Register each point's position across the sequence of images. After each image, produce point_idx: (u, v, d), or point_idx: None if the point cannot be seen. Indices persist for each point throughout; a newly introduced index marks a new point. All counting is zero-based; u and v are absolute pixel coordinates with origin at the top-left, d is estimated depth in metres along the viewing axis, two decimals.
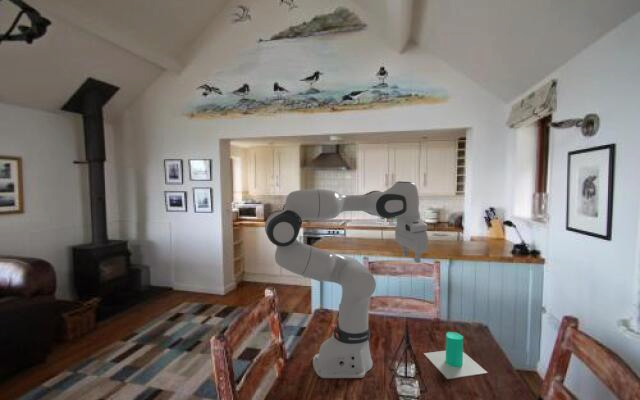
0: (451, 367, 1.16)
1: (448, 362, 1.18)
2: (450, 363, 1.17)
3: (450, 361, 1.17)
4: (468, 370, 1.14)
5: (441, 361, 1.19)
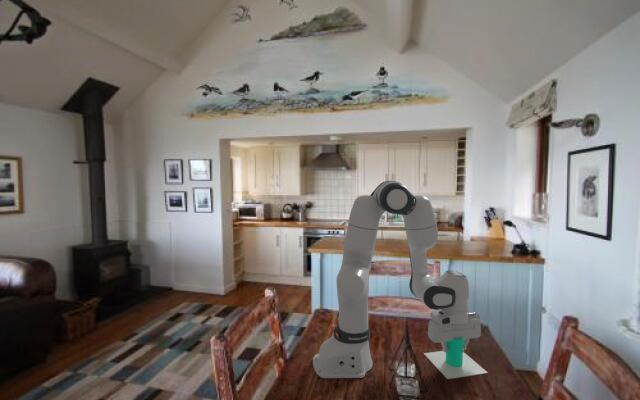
0: (451, 367, 1.16)
1: (448, 362, 1.18)
2: (450, 363, 1.17)
3: (450, 361, 1.17)
4: (468, 370, 1.14)
5: (441, 361, 1.19)
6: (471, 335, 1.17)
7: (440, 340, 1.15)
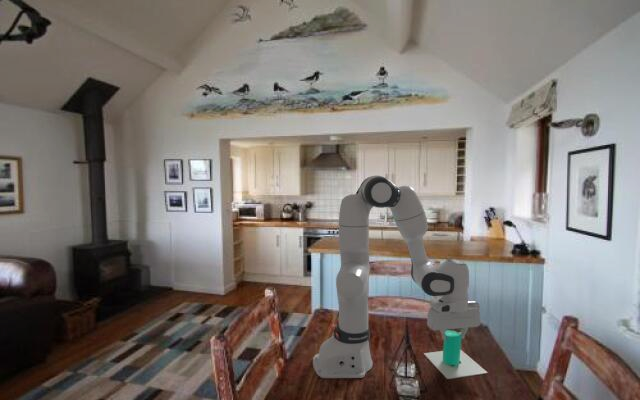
0: (451, 367, 1.16)
1: (445, 360, 1.17)
2: (447, 361, 1.17)
3: (447, 359, 1.16)
4: (468, 370, 1.14)
5: (441, 361, 1.19)
6: (470, 324, 1.17)
7: (439, 328, 1.15)
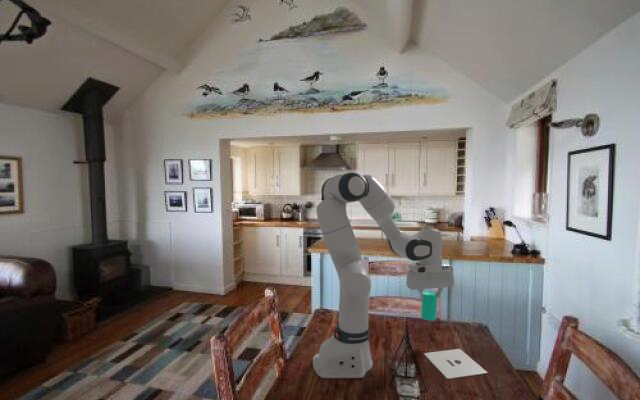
0: (451, 367, 1.16)
1: (423, 317, 1.32)
2: (425, 317, 1.31)
3: (425, 315, 1.31)
4: (468, 370, 1.14)
5: (441, 361, 1.19)
6: (445, 284, 1.32)
7: (417, 287, 1.30)
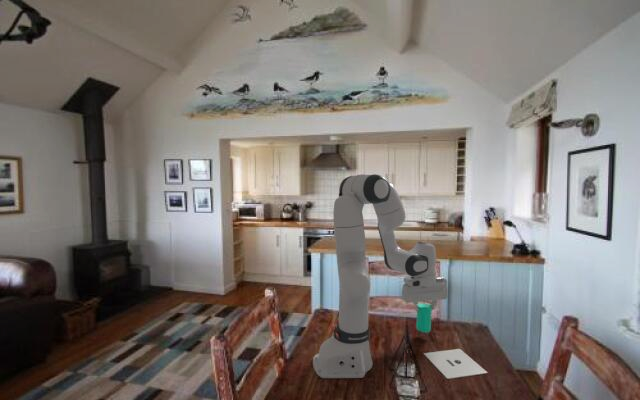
0: (451, 367, 1.16)
1: (418, 328, 1.36)
2: (420, 329, 1.36)
3: (420, 327, 1.36)
4: (468, 370, 1.14)
5: (441, 361, 1.19)
6: (439, 297, 1.36)
7: (412, 300, 1.34)
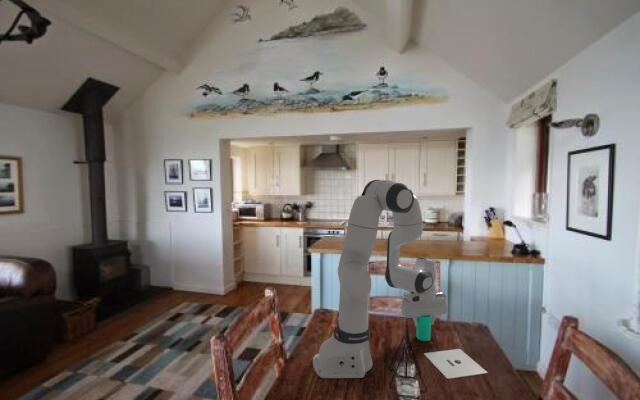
0: (451, 367, 1.16)
1: (418, 337, 1.37)
2: (420, 338, 1.36)
3: (420, 336, 1.36)
4: (468, 370, 1.14)
5: (441, 361, 1.19)
6: (438, 312, 1.37)
7: (411, 315, 1.34)
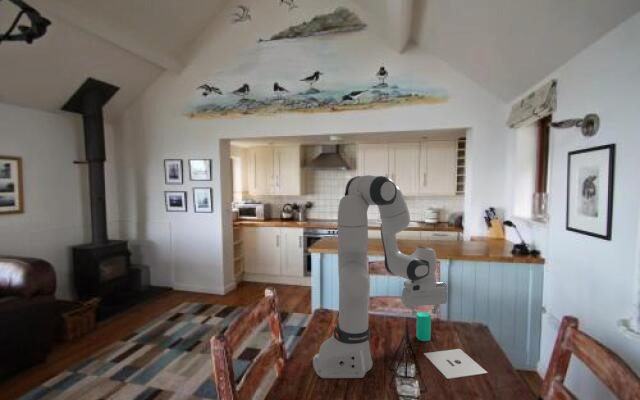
0: (451, 367, 1.16)
1: (418, 337, 1.37)
2: (419, 338, 1.36)
3: (419, 336, 1.36)
4: (468, 370, 1.14)
5: (441, 361, 1.19)
6: (438, 301, 1.36)
7: (411, 305, 1.34)
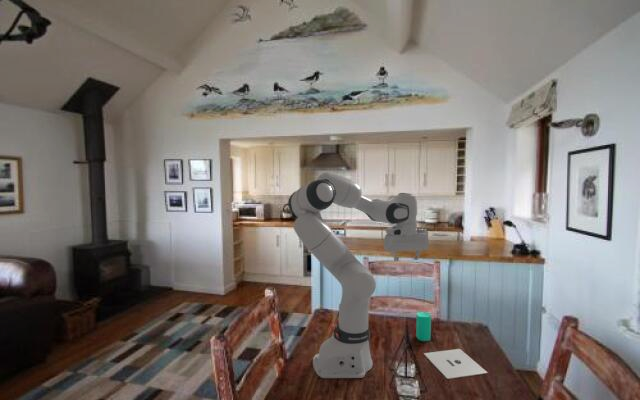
0: (451, 367, 1.16)
1: (418, 337, 1.37)
2: (419, 338, 1.36)
3: (419, 336, 1.36)
4: (468, 370, 1.14)
5: (441, 361, 1.19)
6: (420, 247, 1.39)
7: (393, 249, 1.37)
